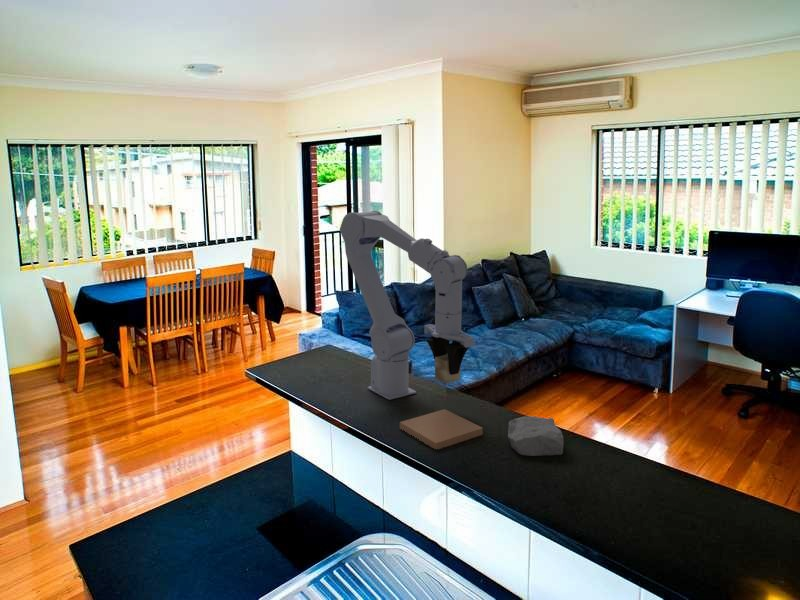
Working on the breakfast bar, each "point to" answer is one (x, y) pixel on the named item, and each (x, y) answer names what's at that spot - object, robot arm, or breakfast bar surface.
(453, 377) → the birch block
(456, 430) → the terracotta tile
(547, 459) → the breakfast bar surface
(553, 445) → the stone block
